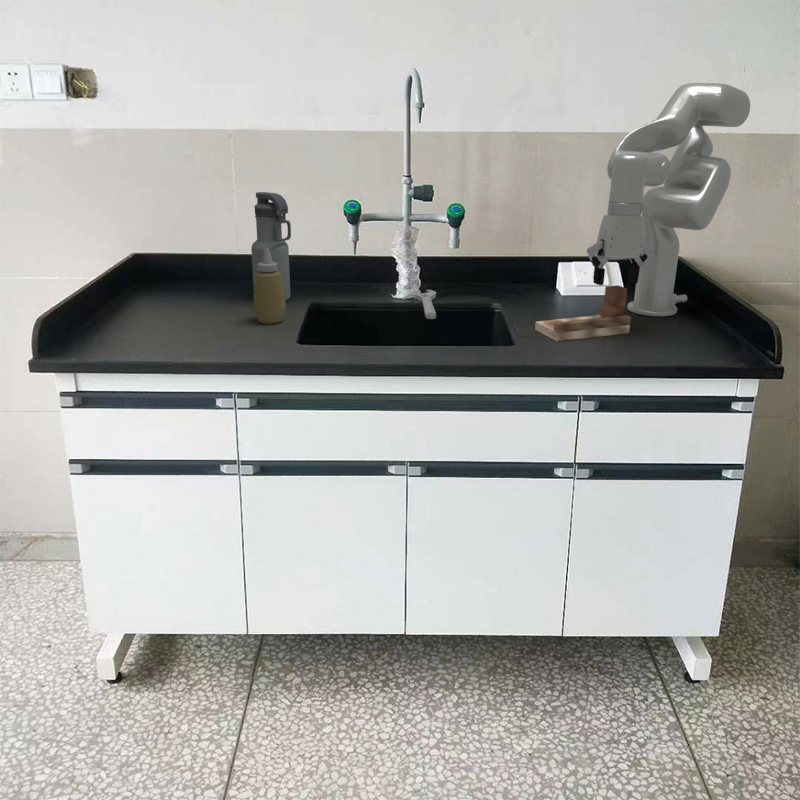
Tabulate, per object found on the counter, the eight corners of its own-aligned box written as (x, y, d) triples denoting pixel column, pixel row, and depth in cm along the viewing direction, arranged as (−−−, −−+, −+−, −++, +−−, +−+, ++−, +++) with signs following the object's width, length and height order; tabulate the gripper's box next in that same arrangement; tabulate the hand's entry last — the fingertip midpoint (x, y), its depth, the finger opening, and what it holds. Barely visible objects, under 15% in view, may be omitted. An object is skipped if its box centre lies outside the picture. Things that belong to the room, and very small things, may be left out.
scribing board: (604, 321, 205) (606, 306, 203) (629, 333, 196) (630, 316, 195) (535, 329, 198) (536, 313, 197) (556, 341, 189) (558, 324, 188)
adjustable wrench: (436, 321, 206) (436, 314, 205) (411, 320, 206) (411, 313, 206) (435, 295, 229) (436, 289, 229) (412, 295, 229) (413, 289, 229)
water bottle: (299, 297, 224) (295, 193, 213) (275, 305, 216) (270, 197, 206) (270, 292, 229) (265, 190, 218) (246, 299, 221) (240, 194, 211)
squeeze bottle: (293, 319, 204) (290, 247, 198) (275, 327, 198) (271, 253, 191) (265, 315, 208) (262, 244, 201) (247, 323, 201) (242, 249, 194)
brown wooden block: (608, 314, 203) (612, 283, 200) (623, 321, 197) (627, 288, 195) (596, 316, 202) (599, 284, 199) (610, 322, 196) (614, 289, 193)
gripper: (645, 207, 195) (635, 278, 201) (583, 208, 189) (575, 281, 195) (665, 211, 188) (655, 284, 194) (602, 212, 182) (593, 288, 188)
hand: (615, 283), depth 194 cm, fingers open, 9 cm apart
